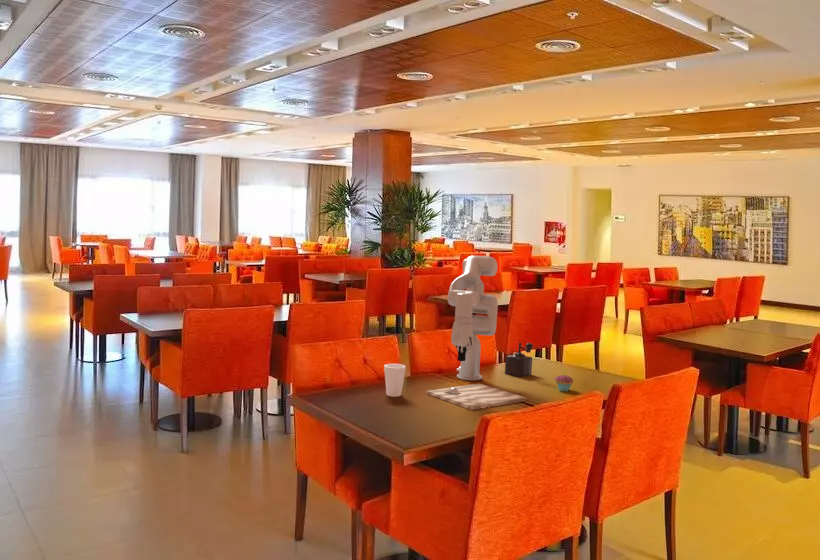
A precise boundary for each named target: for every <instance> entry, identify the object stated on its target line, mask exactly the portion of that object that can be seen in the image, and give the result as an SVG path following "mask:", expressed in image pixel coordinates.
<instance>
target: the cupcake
mask: <svg viewBox="0 0 820 560" xmlns="http://www.w3.org/2000/svg"><path fill="white" fill-rule="evenodd" d="M554 382H555V383H556V385H557V388H558V391H559V392H561V391H562V392H569V391H570V388H571V386H572V385H573V384H574V379H573V378H572V377H571V376H569V375H566V366H564V368H563V374H560V375H557V376H556V377H555V378H554ZM568 390H569V391H568Z"/></svg>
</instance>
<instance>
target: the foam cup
mask: <svg viewBox="0 0 820 560" xmlns="http://www.w3.org/2000/svg"><path fill="white" fill-rule="evenodd" d="M406 369H407V368H406V365H405V364H401V363H387V364H384V365H383V371H384V381H385V392H386V393H385V394H386V396H388V397H393V398H395V397H396V398H397V397H401V395H402V390H403V386H404V378H405V373H406Z"/></svg>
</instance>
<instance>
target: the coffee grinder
mask: <svg viewBox="0 0 820 560" xmlns="http://www.w3.org/2000/svg"><path fill="white" fill-rule="evenodd" d="M533 348H534V345H533V344H532V343H531V342H527V343H526V344H525V347H523V346H522V343H521V342H519V343H518V352H515V353H512V354H510V355H506V356H505V361H504V362H505V363H504V374H505V375H508V374H509V376H515V377H520V378H523V377H528V376H531V375H532V372H533V371H532V370H533V357H532V356H529V355H525V354H524V353H522V352H521V351H522V350H524V351H525V352H526V353H527V354H528V353H531V351H532V349H533ZM521 349H522V350H521Z"/></svg>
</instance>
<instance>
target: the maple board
mask: <svg viewBox="0 0 820 560" xmlns="http://www.w3.org/2000/svg"><path fill="white" fill-rule="evenodd" d="M451 388H456V389H457V390H458V394H455V395H450V393H449V391H450V389H451ZM426 395H428V396H430V395H431V397H433V396H434V398H436V397H437V398H436V399H439V398H440V399H439V400H443V401H445V402H448V403H450V404H452V405H453V404H454V405H456V406H459V407H463V408H465V409H467V410H471V411H475V409H476V410H480V408H482V409H486V407H488V408H492V407H491V406H493V407H498V406H503V405H510V404H516V403H517V404H518V403H521V402H526V401H527V397H526V396H522V395H519V394H516V393H513V392H509V391H507V390H506V391H505V390H502V389H498V388H496V387H492V386H489V385H486V384H482V383H479V382H478V383H475V384H474V383H473V384H465V385H460V386H459V385H458V386H454V387H446V388H438V389H433V390H432V389H429V390H426Z"/></svg>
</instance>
